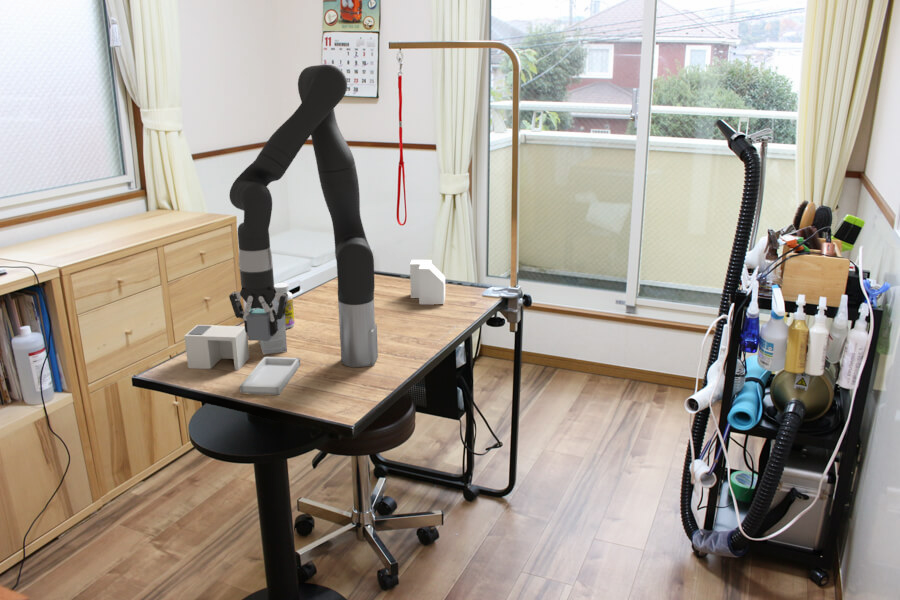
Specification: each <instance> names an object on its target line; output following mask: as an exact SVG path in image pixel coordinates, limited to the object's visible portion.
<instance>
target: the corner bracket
mask: <svg viewBox="0 0 900 600" xmlns="http://www.w3.org/2000/svg"><path fill="white" fill-rule="evenodd" d="M409 264H410V265H409V266H410V267H409V268H410V270H409V274H410V277H409V278H410V299H411V298H419V299H418V304H419V305H434V304H444V305H445V302H444V301H446V276H445V275H444V274H443V273H442V272H441V271H440V270H439V269H438V268H437V267H436V265H434V264H433V261H432V259H411V261H410V263H409Z"/></svg>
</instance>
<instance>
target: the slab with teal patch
mask: <svg viewBox="0 0 900 600" xmlns="http://www.w3.org/2000/svg"><path fill="white" fill-rule="evenodd" d="M272 302H273V304H274V306H275V311H276V313H277V312H278V306H279V303H278V302H277V300H275V299H273V301H272ZM246 318H247V330H248V334H247V337H248V341H258V342H259V341H269V340H270V339H271V338H272V337H273V336H271V335H270V324H269V322H270V319H269V315H267V314H266V313H265V311H264V309H261V308H254V309H253V311H252V312H251V313H250V314H249V315H247V316H246ZM285 322H286V321H285V315H284V316H283V317H282V318H281V319H278V320H277V323H278V330H279V329H280V328H281V327H282V326H283V325H284V323H285Z"/></svg>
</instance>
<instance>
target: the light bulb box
mask: <svg viewBox="0 0 900 600" xmlns="http://www.w3.org/2000/svg"><path fill="white" fill-rule="evenodd" d="M286 330H287V329H286V328H285V323H284V325H283V326H282V327H281V328H280V329H279V330H278V331H277V332H276V334H275V335H274V336H273V337H272V338H271V339H270V340H269V341H258V343H259V345H260V349H261V351H262V354H263V355H270V354H278V353H285V352H288V347H287V332H286Z"/></svg>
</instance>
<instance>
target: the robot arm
mask: <svg viewBox="0 0 900 600" xmlns="http://www.w3.org/2000/svg"><path fill="white" fill-rule="evenodd" d="M297 80H298V81H297V88H298V89H297V90H298V94H299V99H300V101H301V103H300V104H299V106H298V107H297V109H296V110H295V111H294V113H293V114H292V115H291V116H290V117H289V118H287V119H286V120H285V121H284V123H282V125H280V126H279V127H278V128H277V129H276V131H274V132H273V134H272V135H271V136H270V137H269V139H268V140H267V141H266V143H265V144H264V146H263V147H262V149H261V150H260V152H259V153H258V155H257V157H256V158H255V160H254V161H253V162H252V163H251V164H250V165H248V166H247V167H245V169H244V170H243V171H242V172H241V173H240V174H239V175H238V176H237V177H236V178H235V180H234V181H233V183H232V185H231V187H230V189H229V200H230V203H231V204H232V206H233V207H235V208H236V209H238V210H241V211H243V222H241V223H240V224H239V225H238V227H237V240H238V241H237V242H238V267H239V276H240V277H239V278H240V286H241V290H240V291H232V292H231V294H229V296H228V297H229V302H230V304H231V306H232V309H233V312H234V315H235V317H236V318H237V319H242V320H243V322H244V325H243V326H245V331H246V333H247V335H248V330H247V318H246V316H247V315H249V314H250V313H251V312H252V311H253V310H254V309H255V308H261V309H264V311H265V313H266V314H267V315H269V319H270V322H269V324H270V335H271V336H274V335H275V334H276V332H277V331H278V323H277V320H278V319H281V318H282V317H283V316H284V315H285V310H286V304H287V299H288V294H287V293H284V294H280V293H277V292H276V290H275V288H274V284H275V281H274V280H275V278H274V266H273V263H274V262H273V254H272V250H271V241H270V239H271V238H270V231H269V229H270V225H271V219H272V212H273V198H272V194H271V191H270V189H269V187H268V186H269V185H270V184H271V183H272V182H276V181H279V180H281V179H282V177H284V175H285V173H286V171H288V169H289V167H290V166H291V164H292V162H293V161H294V159H295V158H296V156H297V155H298V153H299V152H300V150H301V149H302V147H303V146H304V145H305V144H306V142H307V141H308V139H309V138H310V137H311V141H312V147H313V151H314V157H315V160H316V162H315V163H316V167H317V172H318V173H317V174H318V178H319V183H320V187H321V191H322V194H323V197H324V201H325V204H326V207H327V209H328V213H329V214H330V218H331V222H332V229H333V236H334V237H333V239H334V256H335V261H336V274H337V301H338V302H337V303H338V304H337V305H338V322H339V324H338V325H339V339H340V340H339V342H340V357H341V359H340V360H341V364H342V365H344V366H346V367H350V368H365V367H368V366H375V364H376V362H377V359H378V358H379V349H378V347H379V346H378V326H377V325H378V324H377V323H376V321H375V320H376V317H375V316H376V315H375V287H376V285H375V257H374V254H373V251H372V248H371V246H370V244H369V242H368V238H367V236H366V233H365V230H364V226H363V222H362V218H361V209H360V207H361V204H360V203H361V202H360V201H361V200H360V198H361V197H360V185H359V177H358V173H357V166H356V162H355V158H354V155H353V152H352V150H351V148H350V147H349V144H348V143H347V141H346V139H345V137H344V136H343V134H342V132H341V130H340V127H339V126H338V123H337V119H336V114H335V108H336V106H338V104H339V103H340V102H341V101H342V99H344V97H345V95H346V93H347V90H348V81H347V77H346V75H345V73H344V71H343V70H342V69H341V68H339V67H338V66H336V65H333V64H319V65H311V66H308V67H305V68H304V69H302V71H300V73H299V77H298V79H297ZM274 298H277V302H278V303H279V306H278V312H277V313H276V311H275V306H274V304H273V302H272V301H273V299H274ZM241 299H243V300H244V302H245V303H246V304H245V307H243V306H242V301H241ZM243 308H244V309H243Z"/></svg>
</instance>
